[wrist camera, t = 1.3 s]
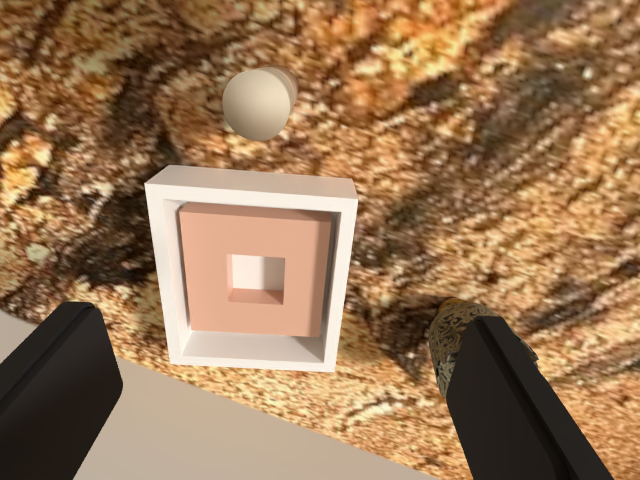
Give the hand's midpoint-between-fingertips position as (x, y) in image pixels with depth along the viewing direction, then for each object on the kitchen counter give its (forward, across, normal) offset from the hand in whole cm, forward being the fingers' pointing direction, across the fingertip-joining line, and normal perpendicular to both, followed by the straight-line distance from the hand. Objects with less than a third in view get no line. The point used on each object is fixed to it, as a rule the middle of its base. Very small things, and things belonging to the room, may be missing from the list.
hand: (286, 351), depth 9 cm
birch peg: (+20, +2, -4) cm, 21 cm away
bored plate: (+20, +4, +10) cm, 22 cm away
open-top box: (+20, +4, +10) cm, 22 cm away
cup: (+20, -14, +14) cm, 28 cm away
